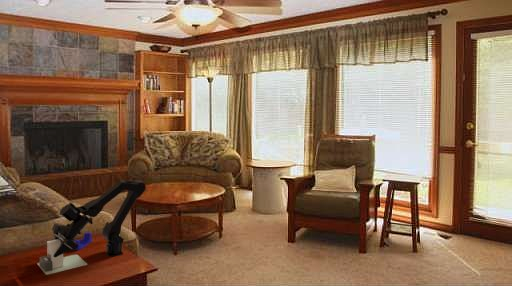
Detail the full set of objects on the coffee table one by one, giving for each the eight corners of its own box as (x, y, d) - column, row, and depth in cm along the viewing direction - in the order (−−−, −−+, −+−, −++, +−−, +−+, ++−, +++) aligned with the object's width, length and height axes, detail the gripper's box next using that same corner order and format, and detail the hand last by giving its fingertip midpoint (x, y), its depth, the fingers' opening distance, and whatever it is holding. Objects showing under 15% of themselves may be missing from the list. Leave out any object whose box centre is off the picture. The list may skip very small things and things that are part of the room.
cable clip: (83, 243, 226) (83, 232, 225) (91, 244, 225) (91, 233, 224) (69, 251, 214) (69, 240, 213) (78, 253, 213) (78, 241, 212)
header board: (76, 256, 209) (76, 246, 208) (87, 266, 199) (87, 256, 198) (36, 265, 197) (36, 254, 196) (46, 276, 187) (46, 265, 186)
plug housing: (59, 261, 200) (58, 239, 198) (63, 266, 195) (63, 243, 194) (47, 264, 196) (47, 241, 195) (51, 269, 192) (51, 245, 190)
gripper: (56, 211, 202) (31, 238, 196) (70, 222, 188) (44, 252, 182) (74, 224, 208) (50, 251, 203) (88, 235, 195) (64, 265, 189)
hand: (51, 254), depth 194 cm, fingers closed on plug housing, 6 cm apart
